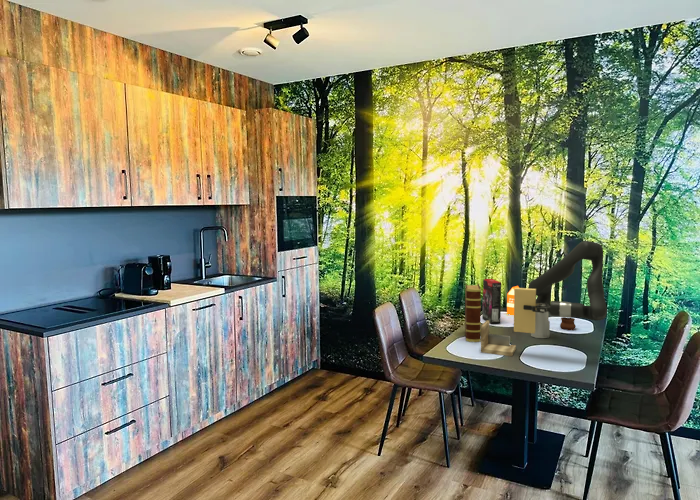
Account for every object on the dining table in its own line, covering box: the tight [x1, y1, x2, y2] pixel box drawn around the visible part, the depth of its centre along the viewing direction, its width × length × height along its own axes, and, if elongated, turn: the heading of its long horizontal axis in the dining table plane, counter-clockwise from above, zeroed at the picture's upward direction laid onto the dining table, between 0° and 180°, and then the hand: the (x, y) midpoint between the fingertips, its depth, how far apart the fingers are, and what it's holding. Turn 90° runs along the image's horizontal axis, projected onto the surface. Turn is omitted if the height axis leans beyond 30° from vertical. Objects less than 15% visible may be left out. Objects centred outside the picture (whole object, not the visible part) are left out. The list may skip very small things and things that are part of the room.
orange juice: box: [506, 285, 520, 316], centre depth 334 cm, size 8×9×20 cm
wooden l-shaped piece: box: [480, 320, 517, 357], centre depth 251 cm, size 16×14×14 cm
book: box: [513, 287, 537, 334], centre depth 244 cm, size 4×10×22 cm, turn 63°
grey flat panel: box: [488, 333, 511, 346], centre depth 255 cm, size 11×2×5 cm, turn 63°
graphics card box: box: [481, 278, 502, 325], centre depth 315 cm, size 17×7×27 cm, turn 5°
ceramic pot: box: [559, 317, 576, 331], centre depth 294 cm, size 18×18×7 cm
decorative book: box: [464, 283, 482, 343], centre depth 278 cm, size 22×8×30 cm, turn 168°
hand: (524, 306), depth 244 cm, fingers closed on book, 4 cm apart
